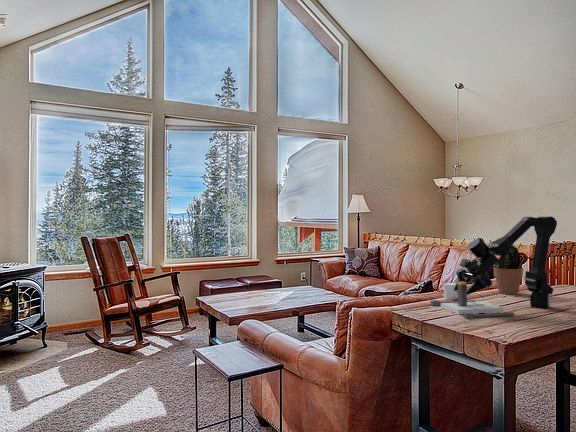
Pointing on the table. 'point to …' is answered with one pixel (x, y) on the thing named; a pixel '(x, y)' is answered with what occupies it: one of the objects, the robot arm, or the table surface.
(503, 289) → the potted plant
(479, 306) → the breaker panel
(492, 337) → the table surface
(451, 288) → the white cup
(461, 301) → the breaker lever
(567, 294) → the table surface
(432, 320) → the table surface
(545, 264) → the robot arm
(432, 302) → the pair of grey rods
